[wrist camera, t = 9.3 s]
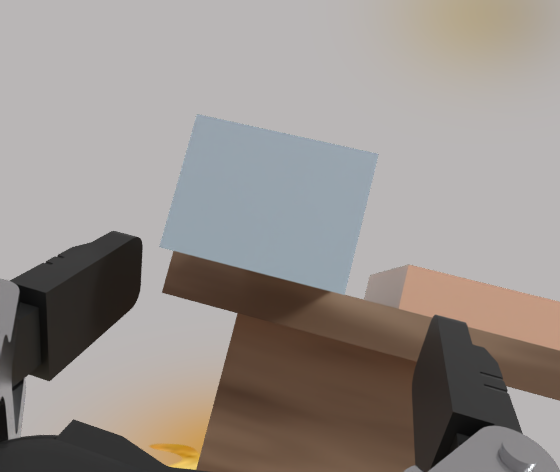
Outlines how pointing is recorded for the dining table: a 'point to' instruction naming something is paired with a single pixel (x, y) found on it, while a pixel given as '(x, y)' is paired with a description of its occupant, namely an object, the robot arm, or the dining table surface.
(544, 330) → the base tile
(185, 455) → the dining table surface
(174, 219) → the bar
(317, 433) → the stand
